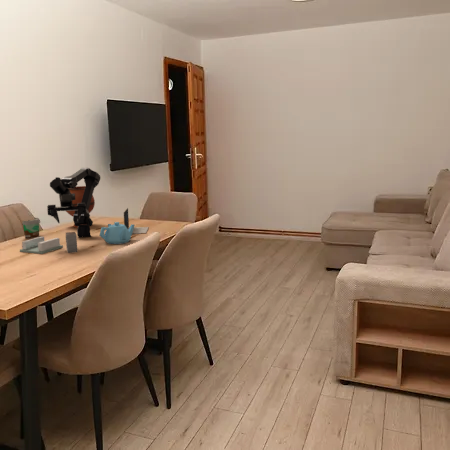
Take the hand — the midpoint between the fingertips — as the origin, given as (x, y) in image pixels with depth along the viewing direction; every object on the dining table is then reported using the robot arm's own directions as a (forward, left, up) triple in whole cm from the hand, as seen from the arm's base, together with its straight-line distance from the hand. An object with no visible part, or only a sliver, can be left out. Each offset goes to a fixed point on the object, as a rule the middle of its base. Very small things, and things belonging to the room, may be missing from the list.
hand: (68, 222), depth 241 cm
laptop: (-41, -29, -14) cm, 52 cm away
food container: (+16, -38, -14) cm, 44 cm away
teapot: (-25, -4, -14) cm, 29 cm away
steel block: (0, +8, -13) cm, 15 cm away
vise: (+14, -3, -13) cm, 19 cm away
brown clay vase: (-12, -60, -13) cm, 63 cm away
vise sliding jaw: (+18, -7, -12) cm, 23 cm away
